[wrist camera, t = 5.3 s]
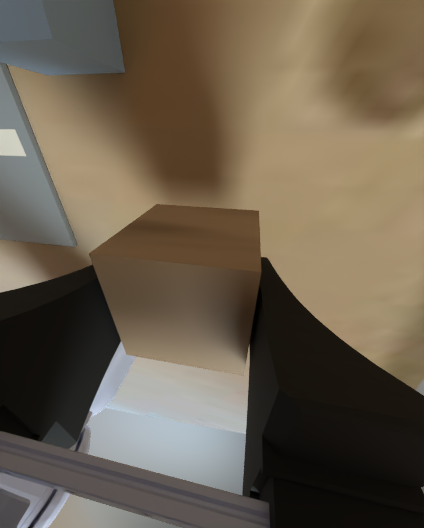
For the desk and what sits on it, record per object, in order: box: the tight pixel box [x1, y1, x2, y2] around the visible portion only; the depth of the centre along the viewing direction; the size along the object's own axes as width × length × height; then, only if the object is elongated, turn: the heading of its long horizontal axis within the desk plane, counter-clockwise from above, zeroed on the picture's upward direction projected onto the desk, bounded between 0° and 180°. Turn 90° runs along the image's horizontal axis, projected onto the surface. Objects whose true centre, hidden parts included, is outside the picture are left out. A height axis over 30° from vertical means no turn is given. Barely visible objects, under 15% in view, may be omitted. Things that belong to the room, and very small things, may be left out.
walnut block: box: [89, 204, 261, 376], centre depth 9 cm, size 5×5×5 cm
